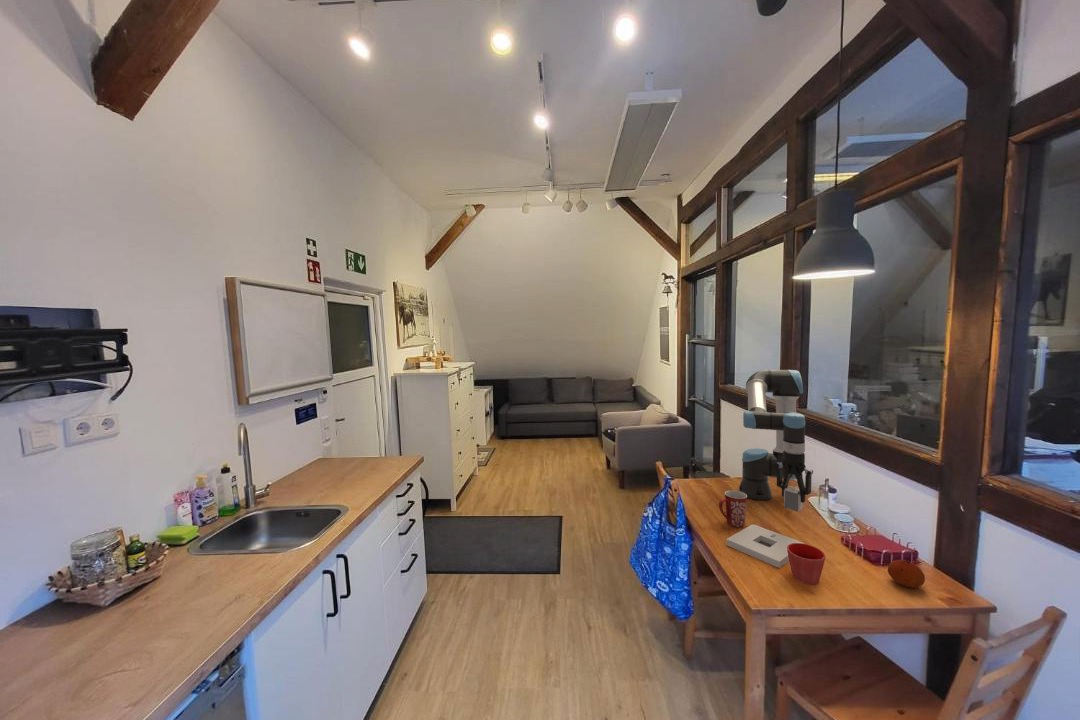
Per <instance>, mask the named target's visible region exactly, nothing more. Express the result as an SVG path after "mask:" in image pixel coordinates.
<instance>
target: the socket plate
mask: <svg viewBox="0 0 1080 720" xmlns="http://www.w3.org/2000/svg"><path fill="white" fill-rule="evenodd" d="M792 543H803V544H806V543H805V542H802V541H800V540H797V539H795V538H792V537H789V536H787V535H784V534H780V533H778V532H775V531H772V530H770V529H766V528H764V527H761V526H759V525H757V524H754V523H752V524H750V525H748V526H747V527H745V528H744V529H742V530H740V531H738V532H736V533H735V534H733V535H731V536H729V537H727V538H726V546H727V547H730V548H732V549H735V550H737V551H740V552H741V553H744V554H746V555H748V556H751V557H753V558H755V559H757V560H759V561H762V562H764V563H767V564H769V565H771V566H774V567H776V568H778V569H781V568H782V567H784V566H785V565H786V564H787V563H790V562H789V557H788V552H787V546H788V545H789V544H792Z"/></svg>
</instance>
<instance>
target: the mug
mask: <svg viewBox="0 0 1080 720" xmlns="http://www.w3.org/2000/svg"><path fill="white" fill-rule="evenodd" d="M747 499H748V498H747V495H746V494H745V493H743V492H740V491H739V490H733V489H732V490H726V491H724V498H722V499H720V500H719V502H718V508H719V511H720V513H721V515H722V516H723V517H724V518H725V519H726V524H727V525H729V526H731V527H732V528H733V527H734V528H744V527H745V526H746V513H747ZM724 503H725V512H724V509H723V505H724Z"/></svg>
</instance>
